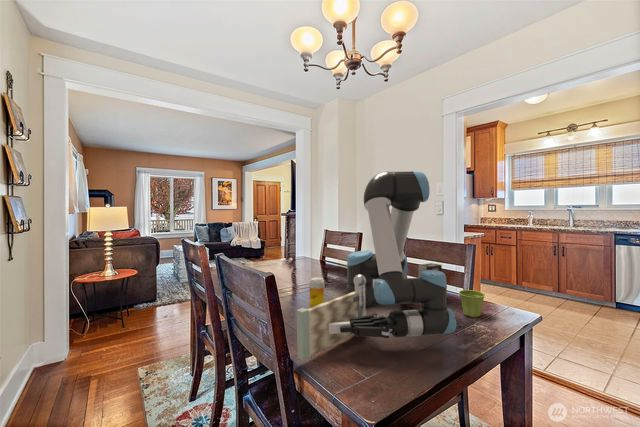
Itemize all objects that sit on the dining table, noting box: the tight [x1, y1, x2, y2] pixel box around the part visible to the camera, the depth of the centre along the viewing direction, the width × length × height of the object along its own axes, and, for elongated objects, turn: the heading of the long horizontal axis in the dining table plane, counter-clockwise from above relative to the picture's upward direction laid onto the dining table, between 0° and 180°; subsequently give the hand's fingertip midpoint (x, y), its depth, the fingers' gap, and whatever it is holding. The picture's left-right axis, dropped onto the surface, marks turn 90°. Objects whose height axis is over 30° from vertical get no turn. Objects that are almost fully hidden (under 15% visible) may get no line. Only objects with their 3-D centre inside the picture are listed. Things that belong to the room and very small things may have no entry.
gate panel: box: [296, 292, 359, 362], centre depth 89 cm, size 26×2×14 cm, turn 136°
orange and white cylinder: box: [309, 276, 326, 308], centre depth 117 cm, size 6×6×15 cm
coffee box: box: [418, 262, 443, 278], centre depth 136 cm, size 9×6×16 cm
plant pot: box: [458, 289, 486, 318], centre depth 115 cm, size 9×9×9 cm
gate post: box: [354, 274, 367, 317], centre depth 100 cm, size 5×5×21 cm
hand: (328, 328), depth 85 cm, fingers closed
